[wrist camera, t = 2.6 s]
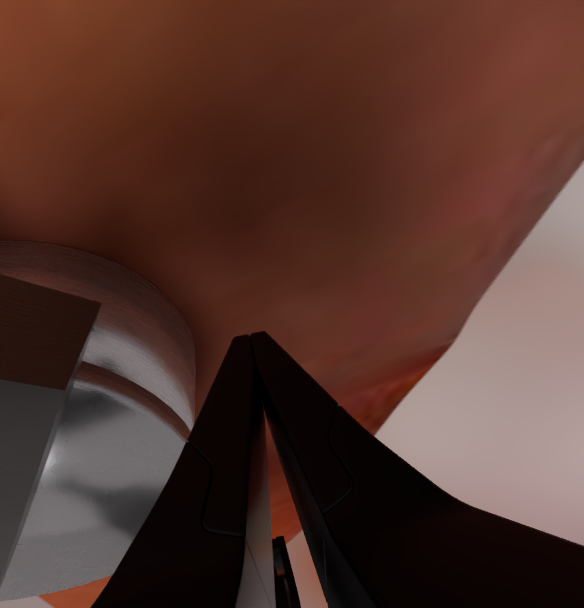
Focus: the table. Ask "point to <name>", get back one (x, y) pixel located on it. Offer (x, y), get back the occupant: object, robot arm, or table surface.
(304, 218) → the table surface
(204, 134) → the table surface
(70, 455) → the cooker lid
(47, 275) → the cooker pot
